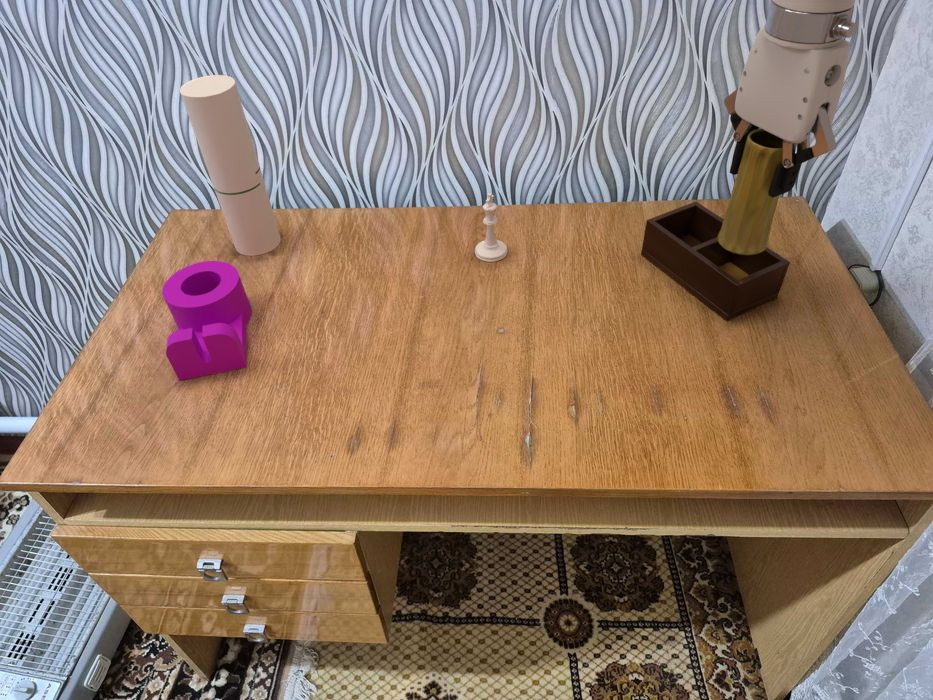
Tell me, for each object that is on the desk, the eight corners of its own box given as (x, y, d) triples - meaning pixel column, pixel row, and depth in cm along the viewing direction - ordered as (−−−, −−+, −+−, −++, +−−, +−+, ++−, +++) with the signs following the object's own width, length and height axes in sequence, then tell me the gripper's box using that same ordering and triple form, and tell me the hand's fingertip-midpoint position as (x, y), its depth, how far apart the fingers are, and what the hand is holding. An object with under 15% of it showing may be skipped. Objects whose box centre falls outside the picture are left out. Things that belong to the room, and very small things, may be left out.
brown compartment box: (688, 235, 101) (696, 201, 96) (777, 298, 89) (790, 262, 85) (640, 254, 98) (646, 219, 94) (726, 321, 86) (737, 285, 82)
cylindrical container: (286, 230, 107) (242, 74, 90) (272, 256, 102) (223, 97, 84) (244, 229, 108) (192, 75, 90) (228, 255, 103) (170, 97, 85)
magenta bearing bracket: (181, 303, 95) (165, 268, 90) (251, 290, 96) (239, 255, 92) (173, 381, 83) (154, 346, 79) (252, 366, 85) (238, 330, 80)
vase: (756, 261, 82) (790, 156, 72) (709, 246, 85) (735, 142, 75) (774, 238, 85) (808, 134, 75) (727, 223, 88) (755, 121, 78)
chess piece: (469, 257, 99) (465, 198, 92) (483, 239, 102) (481, 182, 95) (498, 265, 97) (497, 206, 90) (512, 247, 101) (512, 189, 94)
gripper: (908, 38, 62) (841, 205, 75) (768, -8, 73) (730, 145, 86) (853, 55, 60) (793, 225, 72) (716, 6, 71) (685, 161, 83)
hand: (759, 180), depth 79 cm, fingers closed on vase, 5 cm apart
